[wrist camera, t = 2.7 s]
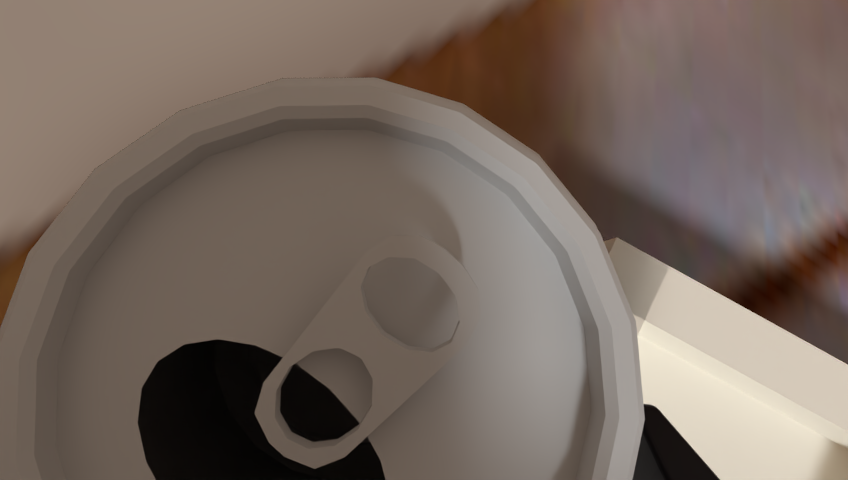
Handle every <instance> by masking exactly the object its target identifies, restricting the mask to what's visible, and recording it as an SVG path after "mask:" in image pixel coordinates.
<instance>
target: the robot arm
mask: <svg viewBox="0 0 848 480" xmlns="http://www.w3.org/2000/svg"><path fill="white" fill-rule="evenodd" d="M644 415H645V421H644V426H643V431H642V436H641V441H640V445H639V450H638V455H637V460H636V465H635V470H634V475H633V479H632V480H720V479H719V478H718V477H717V475H716V474H715V473H714V472H713V471H712V470H711V469H710V467H709V466H708V465H707V464H706V463H705V462H704V461H703V459H702V458H701V457H700V456H699V455H698V454H697V453H696V451H695V450H694V449H693V448H692V447H691V446H690V445H689V443H688V442H687V441H686V440H685V439H684V438H683V437H682V435H681V434H680V433H679V432H678V431H677V430H676V428H675V427H674V426H673V425H672V424H671V423H670V422H669V420H668V419H667V418H666V417H665V416H664V415H663V414H662V412H661V411H660V410H659V409H658V408H656V407H655V406H653V405H650V404H644Z"/></svg>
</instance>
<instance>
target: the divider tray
mask: <svg viewBox="0 0 848 480" xmlns="http://www.w3.org/2000/svg"><path fill="white" fill-rule="evenodd" d="M604 244H605V246H606V249H607V251H608V254H609V256H610V259H611V261H612V263H613V266H614V268H615V271H616V273H617V276H618V278H619V281H620V283H621V286H622V288H623V291H624V293H625V295H626V298H627V300H628V303H629V305H630V308H631V310H632V313H633V315H634V318H635V320H636V328H637V338H638V349H639V360H640V371H641V382H642V393H643V404H650V405H653V406H655V407H656V408H658V409H659V410H660V411H661V412H662V414H663V415H664V416H665V417H666V418H667V419H668V420H669V422H670V423H671V424H672V425H673V426H674V427H675V428H676V430H677V431H678V432H679V433H680V434H681V435H682V437H683V438H684V439H685V440H686V441H687V442H688V443H689V445H690V446H691V447H692V448H693V449H694V450H695V451H696V453H697V454H698V455H699V456H700V457H701V458H702V459H703V461H704V462H705V463H706V464H707V465H708V466H709V467H710V469H711V470H712V471H713V472H714V473H715V474H716V475H717V477H718V478H719V479H720V480H848V364H846V363H844V362H842V361H840V360H838V359H837V358H835V357H833V356H831V355H829V354H828V353H826V352H824V351H822V350H820V349H819V348H817V347H815V346H813V345H811V344H809V343H808V342H806V341H804V340H802V339H800V338H799V337H797V336H795V335H793V334H791V333H790V332H788V331H786V330H784V329H782V328H780V327H779V326H777V325H775V324H773V323H771V322H770V321H768V320H766V319H764V318H762V317H761V316H759V315H757V314H755V313H753V312H751V311H750V310H748V309H746V308H744V307H742V306H741V305H739V304H737V303H735V302H733V301H732V300H730V299H728V298H726V297H724V296H722V295H721V294H719V293H717V292H715V291H713V290H712V289H710V288H708V287H706V286H704V285H703V284H701V283H699V282H697V281H695V280H693V279H692V278H690V277H688V276H686V275H684V274H683V273H681V272H679V271H677V270H675V269H673V268H672V267H670V266H668V265H666V264H664V263H663V262H661V261H659V260H657V259H655V258H654V257H652V256H650V255H648V254H646V253H644V252H643V251H641V250H639V249H637V248H635V247H634V246H632V245H630V244H628V243H626V242H625V241H623V240H621V239H619V238H617V237H616V238H613V239H610V240H606V241H604Z"/></svg>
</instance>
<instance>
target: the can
mask: <svg viewBox="0 0 848 480" xmlns="http://www.w3.org/2000/svg"><path fill="white" fill-rule="evenodd" d="M644 421H645V415H644V404H643V393H642V382H641V371H640V360H639V349H638V338H637V328H636V320H635V318H634V315H633V313H632V310H631V308H630V305H629V303H628V300H627V298H626V295H625V293H624V291H623V288H622V286H621V283H620V281H619V278H618V276H617V273H616V271H615V268H614V266H613V263H612V261H611V259H610V256H609V254H608V251H607V249H606V246H605V244H604V241H603V239H602V236H601V234H600V232H599V231H598V229H597V227H596V224H595V223H594V222H593V221H592V219H591V218H590V217H589V216H588V214H587V213H586V212H585V211H584V210H583V208H582V207H581V206H580V205H579V203H578V202H577V201H576V200H575V198H574V197H573V196H572V195H571V194H570V192H569V191H568V190H567V189H566V187H565V186H564V185H563V184H562V182H561V181H560V180H559V179H558V178H557V176H556V175H555V174H554V173H553V171H552V170H551V169H550V168H549V166H548V165H547V164H546V163H545V162H544V160H543V159H542V158H541V157H540V155H539V154H538V153H536V152H535V151H533V150H532V149H530V148H529V147H527V146H526V145H524V144H523V143H521V142H520V141H518V140H517V139H515V138H514V137H512V136H511V135H509V134H508V133H506V132H505V131H503V130H502V129H500V128H499V127H497V126H496V125H494V124H493V123H491V122H490V121H488V120H487V119H485V118H484V117H482V116H481V115H479V114H478V113H476V112H475V111H473V110H472V109H470V108H469V107H467V106H466V105H464V104H463V103H459V102H456V101H453V100H449V99H446V98H443V97H439V96H436V95H433V94H429V93H426V92H423V91H419V90H416V89H413V88H409V87H406V86H403V85H399V84H396V83H393V82H389V81H386V80H383V79H379V78H282V79H279V80H276V81H272V82H269V83H266V84H262V85H259V86H256V87H253V88H250V89H247V90H244V91H240V92H237V93H234V94H231V95H227V96H225V97H221V98H218V99H215V100H212V101H209V102H205V103H202V104H199V105H196V106H193V107H190V108H186V109H183V110H180V111H178V112H177V113H175V114H174V115H173V116H171V117H170V118H168V119H167V120H165V121H164V122H162V123H161V124H159V125H158V126H156V127H155V128H154V129H152V130H151V131H150V132H148V133H146V134H145V135H143V136H142V137H140V138H139V139H138V140H136V141H135V142H133V143H132V144H131V145H129V146H128V147H126V148H125V149H123V150H122V151H120V152H119V153H117V154H116V155H114V156H113V157H111V158H110V159H108V160H107V161H106V162H104V163H103V164H101V165H100V166H98V167H97V168H96V169H94V171H93V172H92V173H91V174H90V176H89V177H88V178H87V179H86V181H85V182H84V183H83V184H82V186H81V187H80V188H79V189H78V191H77V192H76V193H75V195H74V196H73V197H72V198H71V200H70V201H69V202H68V203H67V205H66V206H65V207H64V208H63V210H62V211H61V212H60V214H59V215H58V216H57V217H56V219H55V220H54V221H53V222H52V224H51V225H50V226H49V228H48V229H47V230H46V231H45V233H44V234H43V235H42V236H41V238H40V239H39V240H38V241H37V243H36V244H35V245H34V247H33V248H32V249H31V250H30V252H29V253H28V256H27V258H26V261H25V264H24V266H23V269H22V272H21V274H20V277H19V280H18V282H17V285H16V288H15V290H14V293H13V296H12V298H11V301H10V304H9V306H8V309H7V312H6V314H5V317H4V320H3V322H2V325H1V328H0V480H632V479H633V475H634V470H635V465H636V460H637V455H638V450H639V445H640V441H641V436H642V431H643V426H644Z"/></svg>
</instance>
